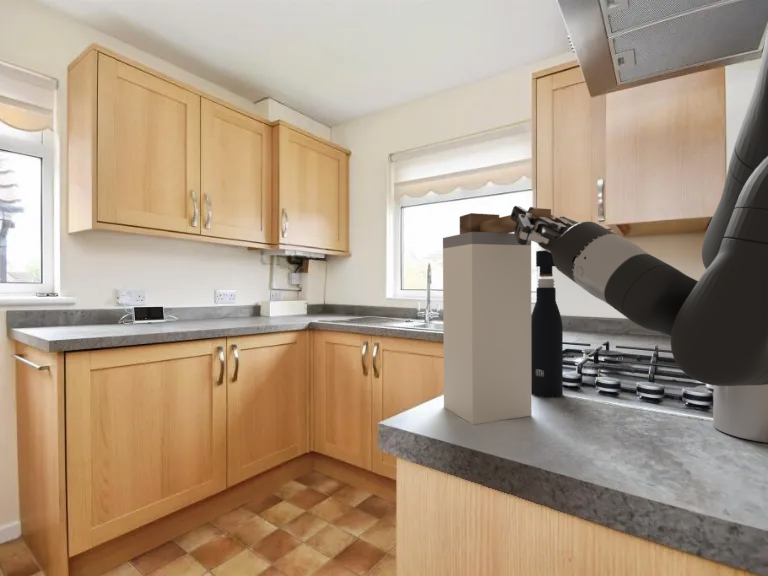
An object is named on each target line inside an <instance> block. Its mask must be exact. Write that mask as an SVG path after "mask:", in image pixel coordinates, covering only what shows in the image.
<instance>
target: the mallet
mask: <svg viewBox="0 0 768 576" xmlns="http://www.w3.org/2000/svg"><path fill="white" fill-rule="evenodd" d="M536 208H537V209H533V210H529V209H528V210H529V211H528V210H527V211H528V212H529V213H531V214H533V215H535V216H537V217H546V218H548V219H550V220H551V214H552V209H551V208H538V207H536ZM510 216H511V214H508V215H506V216H501V217H500V214H493V213H492V214H491V213H490V214H489V213H476V212H475V213H474V212H473V213H472V212H470V213H468V214H464V215H461V216H459V234H464V233H468V232H491V233H514V227H515V225H516V222H514V221H513V220H512V219H511V218H510ZM532 225H534V222H532Z"/></svg>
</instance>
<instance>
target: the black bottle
mask: <svg viewBox="0 0 768 576" xmlns="http://www.w3.org/2000/svg"><path fill="white" fill-rule="evenodd" d="M535 263H536V264H535V267H539V275H538V276H539V277H543V278H538V279H537V287H536V297H535V298H536V301H535V304H534V307H533V309H532V311H531V395H534V396H537V397H542V398H549V399H550V398H551V399H552V398H554V399H555V398H560V397H562V396H563V393H564V392H563V389H564V387H563V386H564V385H563V384H564V380H563V373H564V371H563V369H564V368H563V364H564V363H563V361H564V359H563V358H564V357H563V356H564V355H563V351H564V350H563V349H564V348H563V347H564V346H563V345H564V344H563V339H564V338H563V337H564V336H563V334H564V333H563V332H564V331H563V329H564V328H563V327H564V326H563V321H562V316H561V311H560V309H559V306H558V304H557V302H556V297H557V293H556V291H557V290H556V289H557V288H556V287H554V286H555V280H554V279H555V278H548V277H553V267H555V265H554V262H553V257H552V254H551V253H550V252H548V251H546V250H545V249H543V250H537V251H535ZM545 277H547V278H545Z"/></svg>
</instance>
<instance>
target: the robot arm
mask: <svg viewBox="0 0 768 576" xmlns="http://www.w3.org/2000/svg"><path fill="white" fill-rule="evenodd" d="M764 40H765V41H764V44H763V45H764V46H763V48H762V54H761V58H760V63H759V66H758V68H759V69H758V73H757V77H756V81H755V84H754V87H753V91H752V95H751V98H750V100H749V104H748V106H747V108H746V112H745V114H744V117H743V120H742V123H741V126H740V129H739V131H738V135H737V137H736V140H735V143H734V145H733V146H734V147H733V150H732V153H731V156H730V160H729V164H728V169H727V174H726V178H725V182H724V187H723V190H722V193H721V197H720V200H719V201H718V204H717V207H716V209H715V210H714V213H713V215H712V218H711V221H710V222H709V225H708V226H707V229H706V232H705V234H704V238H703V242H702V249H701V260H702V264H703V267H704V268H705V271H704V272H703V274H702V275H701V276H700V278H699V280H697V279H694V278H693V277H690V276H689V275H688V274H686V273H683V272H682V271H681V270H679V269H677V268H676V267H674V266H672V265H670V264H668V263H667V262H665V261H663V260H661V259H659V258H657V257H655V256H654V255H652V254H650V253H648V251H645V249H643V248H642V247H640V246H639V245H637V244H636V243H634V242H632V241H630V240H629V239H627V238H624V237H623V236H621V235H619V234H617V233H615V232H614V231H613V230H610V229H608V228H606V227H605V226H603V225H600V224H598V223H597V222H595V221H582V222H578V221H575V220H573V219H570V218H568V217H565V216H559V217H557V216H556V215H554V214H552V213H551V220H550V219H548V218H546V217H537V216H535V215H533V214H531V213H529V212H528V211H529V210H533V209H537V208H538V207H535V206H529V208H528V210H526V209H525V208H524V207H522V206H518V205H515V206H513V208H512V211H511V214H510V215H511V216H510V218H511V219H512V220H513V221H514V222H516V225H515V227H514V232H513V233H515V236H516V239H517V242H518V243H519V244H521V245H526V244H527V242H529V240H530V241H531V242H535V243H536V244H538V246H539V247H540V248H541V249H543V250H546V251H548V252H550V253H551V254H552V257H553V262H554V265H555V266H554V267H555V268H556V269H557V271H559V272H560V273H562V274H563V275H564V276H565V277H567V278H568V279H570V280H572V282H573V283H575V284H576V285H578V286H579V287H580V288H582V289H583V290H584V291H586V292H588V294H590V295H592V296H593V297H595V298H596V299H598V300H600V301H603V302H605V304H607V305H609V306H610V307H612V308H613V309H614V310H616V311H617V312H619V313H620V314H621V315H622V316H624V317H625V318H627V319H628V320H629V321H631V322H633V324H635V325H637V326H640V327H642V328H644V329H646V330H651V331H654V332H657V333H661V334H664V335H667V336H669V337H670V349H671V354H672V356H673V359H674V361H675V363H676V365H677V367H679V369H680V370H681V371H682V372H683V373H684V374H685V375H687V377H689V378H691V379H693V380H695V381H697V382H699V383H702V384H704V385H705V384H706V385H709V386H710V385H711V386H713V404H712V405H713V407H712V408H713V410H712V411H713V412H712V413H713V414H712V415H713V417H712V418H713V419H712V421H713V424H712V425H713V427H714V428H715V429H717V430H718V431H720V432H722V433H725V434H728V435H731V436H733V437H737V438H741V439H746V440H747V441H748V440H749V441H753V442H754V441H755V442H761V443H768V29H767V31H766V35H765V39H764ZM532 222H534V225H532Z"/></svg>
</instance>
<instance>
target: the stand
mask: <svg viewBox="0 0 768 576" xmlns="http://www.w3.org/2000/svg"><path fill="white" fill-rule="evenodd" d="M442 272H443V273H442V289H443V290H442V293H443V294H442V298H443V299H442V300H443V301H442V302H443V304H442V305H443V308H442V310H443V313H442V315H443V316H442V317H443V319H442V320H443V322H442V323H443V327H442V328H443V329H442V331H443V335H442V336H443V340H442V341H443V408H444V409H446V410H448V411H450V412H451V413H453V414H454V415H456V416H458V417H460V418H461V419H463V420H464V421H467V422H468V423H469V424H471V425H478V424H485V423H492V422H497V421H507V420H511V419H519V418H526V417H531V416H532V410H533V409H532V394H531V316H532V241H530V240H529V242H527V244H526V245H521V244H519V243H518V242H517V239H516V236H515V233H514V232H512V233H491V232H468V233H464V234H460V233H459V234H455V235H450V236H446V237H443V238H442Z"/></svg>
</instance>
